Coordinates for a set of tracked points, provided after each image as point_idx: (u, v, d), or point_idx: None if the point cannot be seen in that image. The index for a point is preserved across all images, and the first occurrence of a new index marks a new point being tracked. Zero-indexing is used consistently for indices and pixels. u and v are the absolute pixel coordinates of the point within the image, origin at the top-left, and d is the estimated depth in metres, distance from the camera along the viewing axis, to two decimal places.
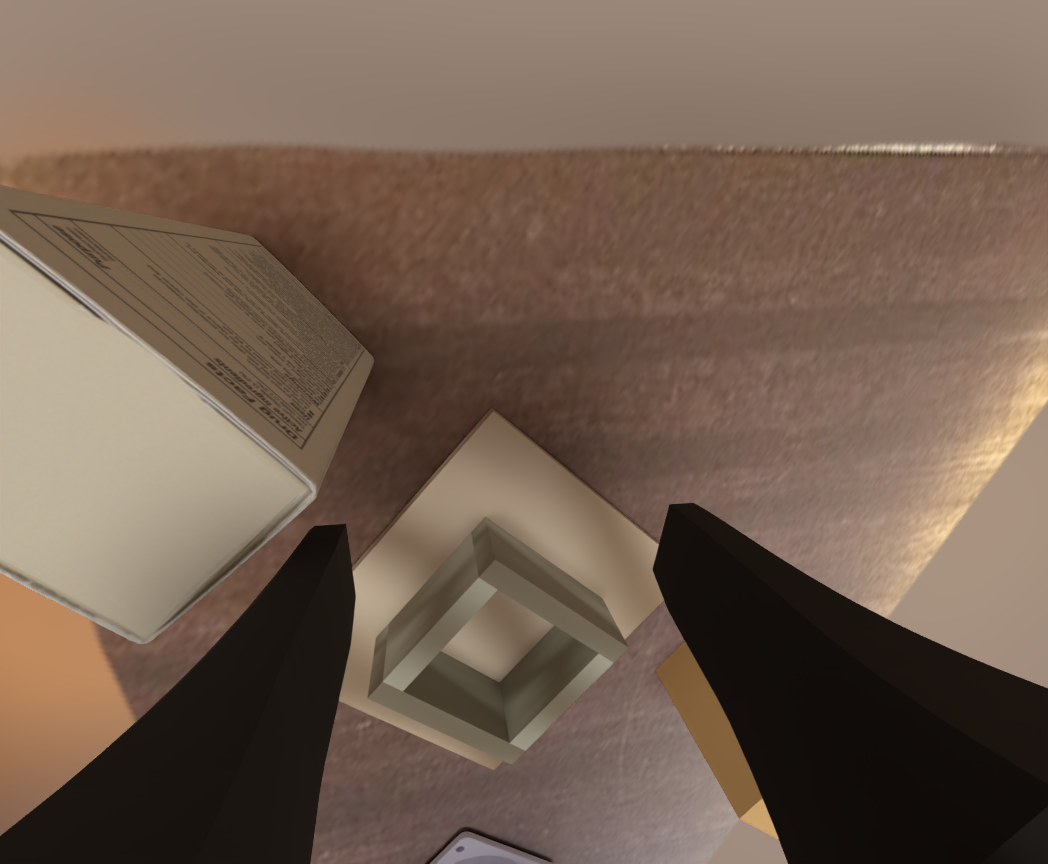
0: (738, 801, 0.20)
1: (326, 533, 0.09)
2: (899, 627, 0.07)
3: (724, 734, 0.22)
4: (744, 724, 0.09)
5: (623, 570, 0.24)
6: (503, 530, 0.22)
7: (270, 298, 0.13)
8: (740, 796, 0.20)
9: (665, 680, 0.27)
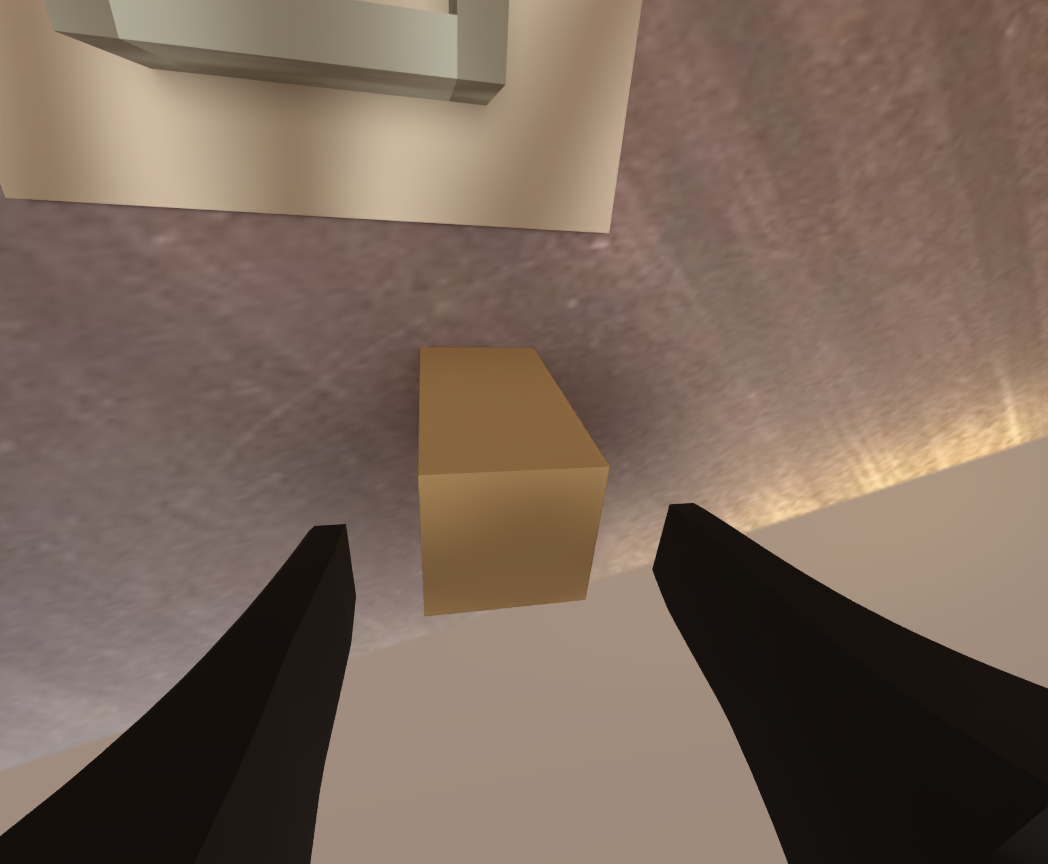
0: (436, 461, 0.10)
1: (326, 533, 0.09)
2: (898, 626, 0.07)
3: (478, 411, 0.12)
4: (744, 724, 0.09)
5: (553, 100, 0.13)
6: None
7: None
8: (445, 459, 0.10)
9: (427, 355, 0.15)
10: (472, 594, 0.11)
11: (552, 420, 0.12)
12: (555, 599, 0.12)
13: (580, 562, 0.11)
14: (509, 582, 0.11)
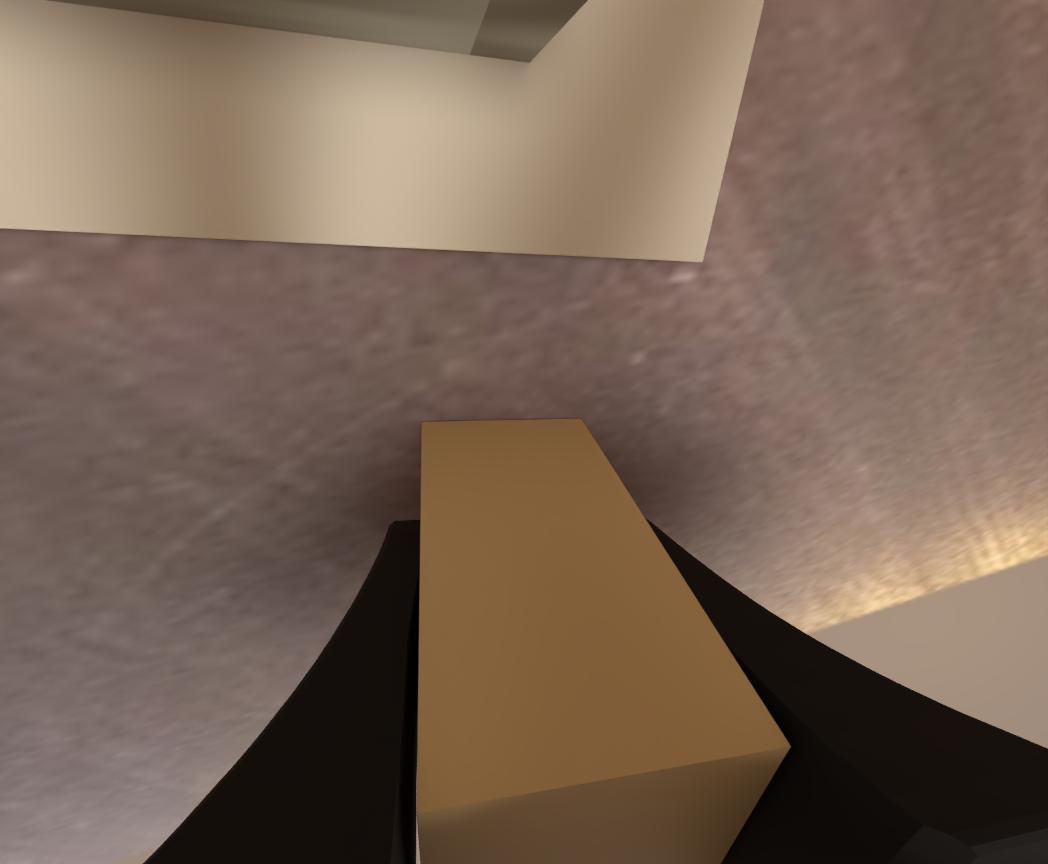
0: (453, 751, 0.05)
1: (409, 527, 0.09)
2: (811, 638, 0.07)
3: (520, 574, 0.07)
4: None
5: (635, 54, 0.08)
6: None
7: None
8: (471, 740, 0.05)
9: (433, 440, 0.10)
10: None
11: (646, 595, 0.07)
12: None
13: (704, 862, 0.06)
14: None
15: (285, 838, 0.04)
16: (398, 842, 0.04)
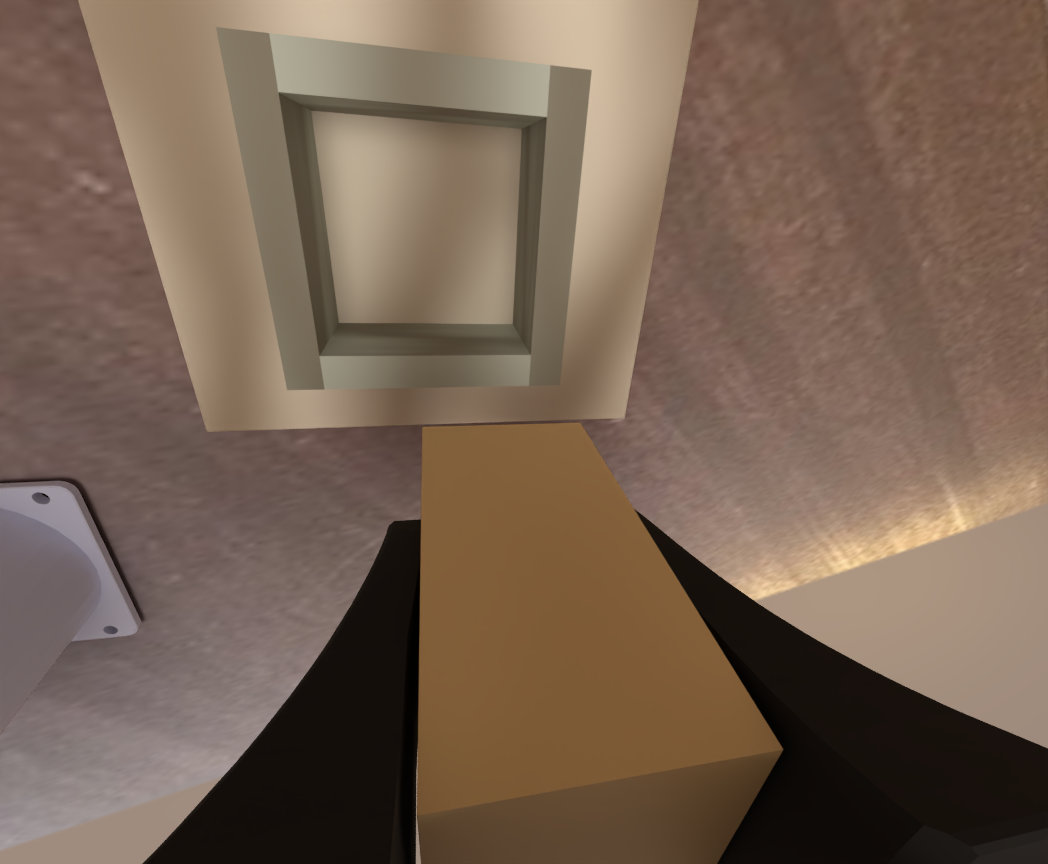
0: (452, 755, 0.05)
1: (409, 527, 0.09)
2: (811, 638, 0.07)
3: (518, 579, 0.07)
4: None
5: (584, 342, 0.18)
6: None
7: None
8: (470, 744, 0.05)
9: (433, 445, 0.11)
10: None
11: (643, 600, 0.07)
12: None
13: (701, 862, 0.06)
14: None
15: (284, 838, 0.04)
16: (398, 842, 0.04)
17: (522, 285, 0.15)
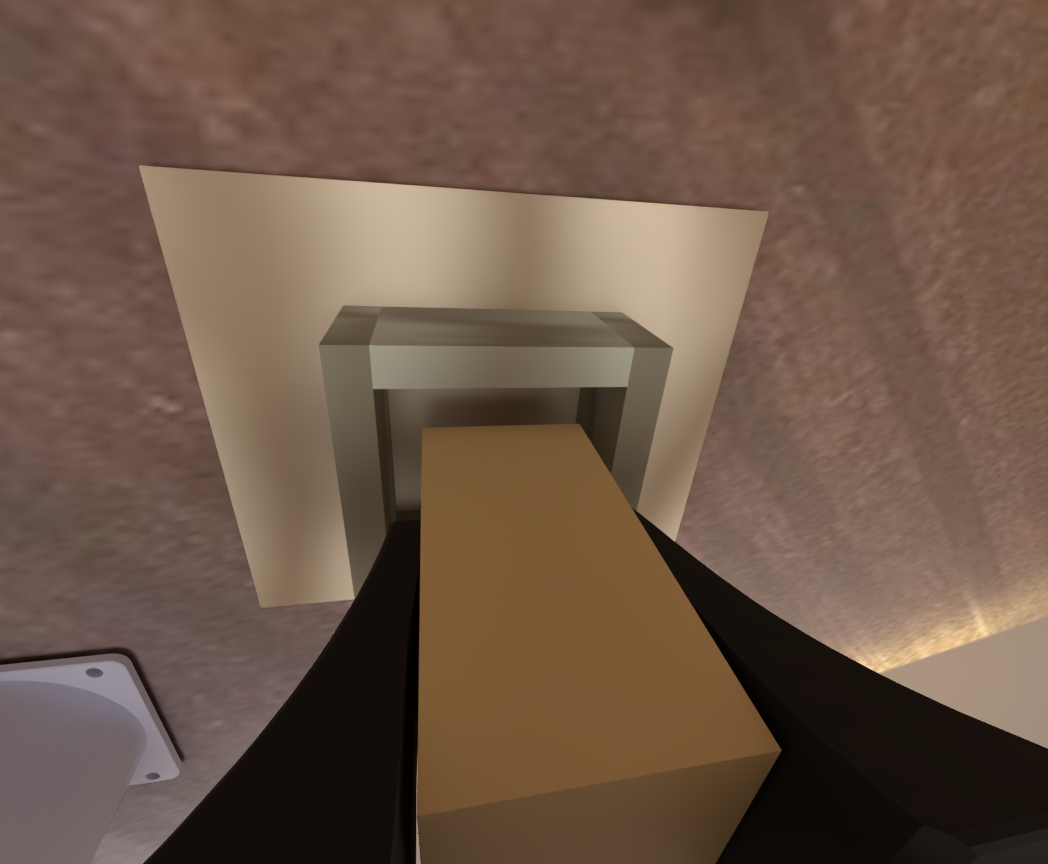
0: (452, 756, 0.05)
1: (409, 527, 0.09)
2: (810, 638, 0.07)
3: (518, 580, 0.07)
4: None
5: None
6: None
7: None
8: (470, 744, 0.05)
9: (433, 446, 0.11)
10: None
11: (642, 601, 0.07)
12: None
13: (699, 863, 0.06)
14: None
15: (285, 838, 0.04)
16: (398, 842, 0.04)
17: None
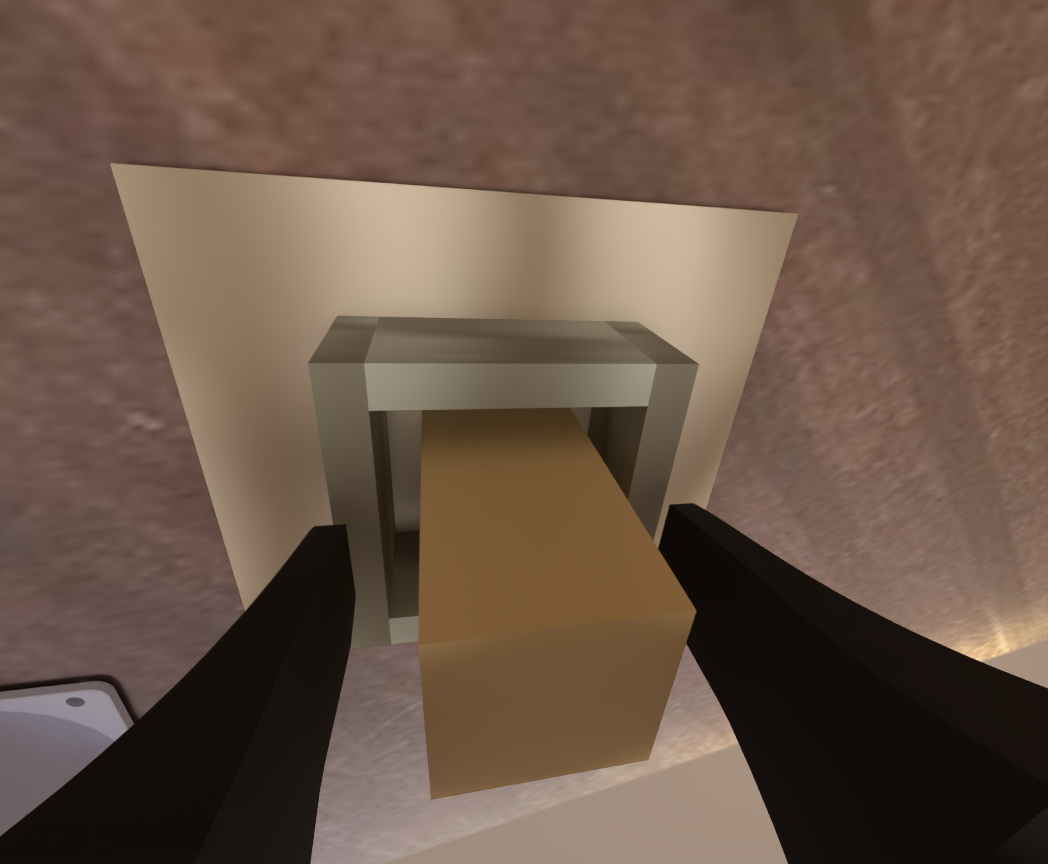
0: (444, 612, 0.07)
1: (326, 533, 0.09)
2: (898, 626, 0.07)
3: (500, 505, 0.09)
4: (744, 724, 0.09)
5: None
6: None
7: None
8: (458, 606, 0.07)
9: (431, 410, 0.12)
10: (497, 770, 0.08)
11: (601, 519, 0.09)
12: (608, 759, 0.09)
13: (645, 722, 0.08)
14: (547, 753, 0.08)
15: None
16: None
17: None
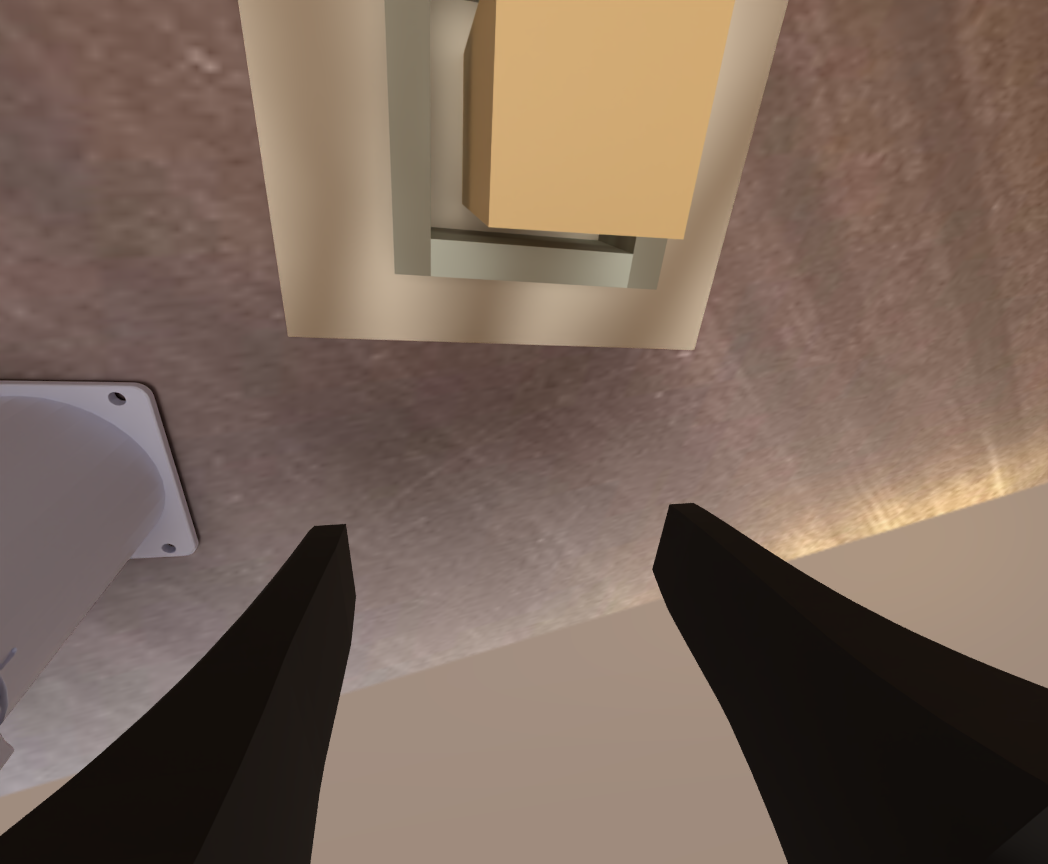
0: None
1: (326, 533, 0.09)
2: (898, 626, 0.07)
3: None
4: (744, 724, 0.09)
5: (664, 265, 0.18)
6: None
7: None
8: None
9: None
10: (550, 198, 0.09)
11: None
12: (646, 236, 0.10)
13: (685, 166, 0.09)
14: (596, 185, 0.09)
15: None
16: None
17: None
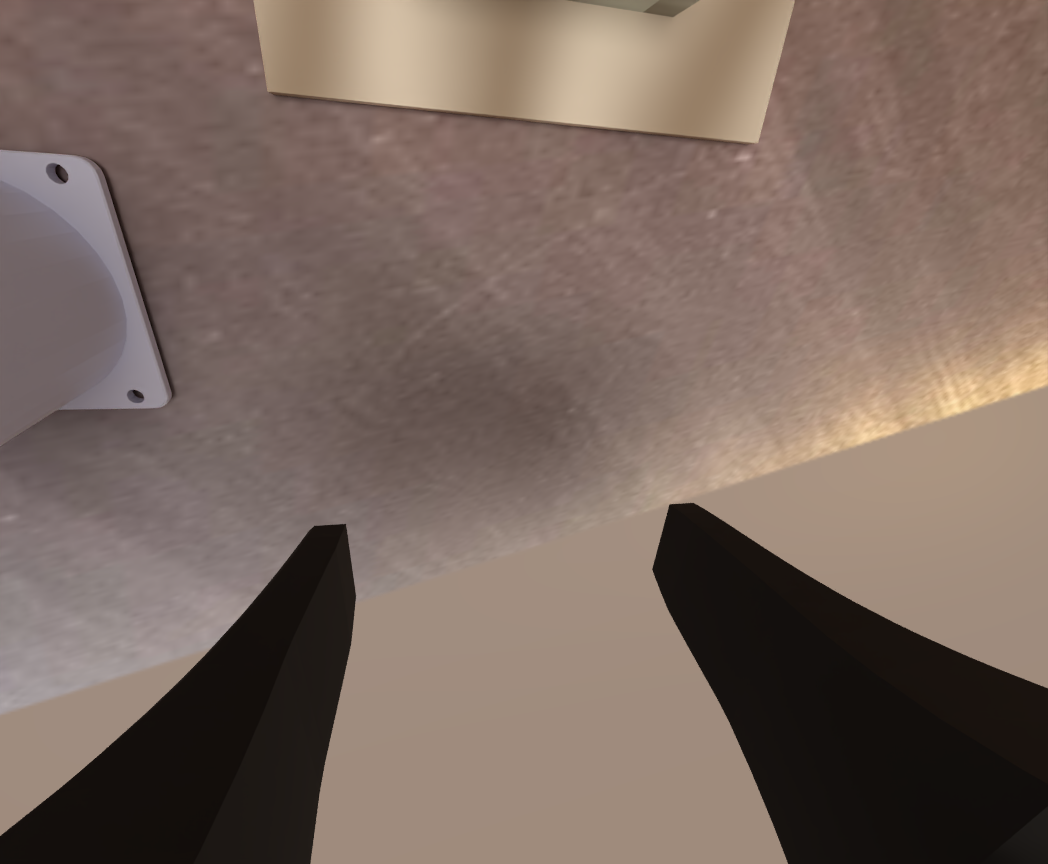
0: None
1: (326, 533, 0.09)
2: (899, 627, 0.07)
3: None
4: (744, 724, 0.09)
5: (728, 13, 0.15)
6: None
7: None
8: None
9: None
10: None
11: None
12: None
13: None
14: None
15: None
16: None
17: None
